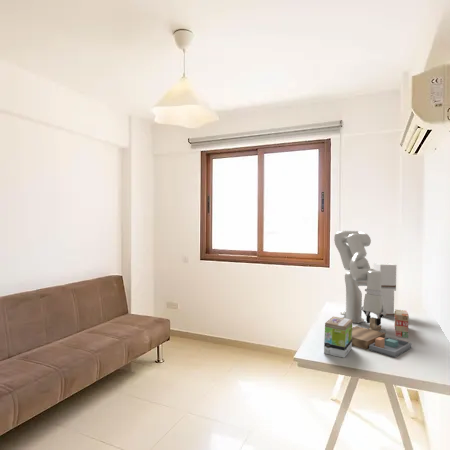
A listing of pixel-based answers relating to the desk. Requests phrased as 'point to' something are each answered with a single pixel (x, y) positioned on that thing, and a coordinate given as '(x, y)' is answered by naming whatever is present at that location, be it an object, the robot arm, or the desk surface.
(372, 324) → the scraper
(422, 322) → the desk surface
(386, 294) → the tall white pillar
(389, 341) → the teal block
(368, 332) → the brown wooden board
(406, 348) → the box
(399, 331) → the stack of blocks
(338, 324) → the tea box
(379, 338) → the terracotta tile
